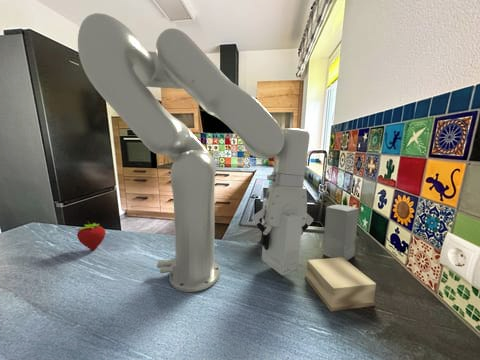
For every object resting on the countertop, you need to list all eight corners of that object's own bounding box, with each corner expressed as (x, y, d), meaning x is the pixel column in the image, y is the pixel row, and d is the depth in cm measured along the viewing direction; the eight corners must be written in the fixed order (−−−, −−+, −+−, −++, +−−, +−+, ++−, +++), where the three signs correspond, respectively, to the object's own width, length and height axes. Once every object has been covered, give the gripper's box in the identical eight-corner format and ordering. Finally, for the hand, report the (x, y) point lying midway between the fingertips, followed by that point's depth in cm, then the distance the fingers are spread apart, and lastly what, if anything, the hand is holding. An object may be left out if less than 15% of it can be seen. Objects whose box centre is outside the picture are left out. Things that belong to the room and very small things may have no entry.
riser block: (330, 311, 38) (333, 289, 37) (304, 277, 48) (306, 259, 47) (374, 305, 40) (377, 284, 39) (340, 274, 50) (342, 256, 49)
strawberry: (97, 256, 55) (94, 223, 53) (72, 254, 55) (69, 222, 54) (111, 246, 61) (109, 216, 59) (89, 244, 61) (86, 215, 60)
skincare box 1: (297, 270, 48) (306, 214, 45) (280, 277, 44) (288, 217, 42) (275, 254, 55) (281, 205, 52) (259, 258, 51) (265, 206, 49)
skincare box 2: (342, 264, 54) (349, 212, 52) (319, 253, 60) (324, 206, 57) (355, 255, 59) (362, 207, 57) (333, 246, 65) (338, 202, 62)
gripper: (257, 181, 41) (250, 255, 44) (328, 185, 44) (318, 254, 47) (250, 176, 48) (244, 240, 51) (311, 180, 51) (303, 240, 54)
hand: (279, 246), depth 49 cm, fingers closed on skincare box 1, 7 cm apart
